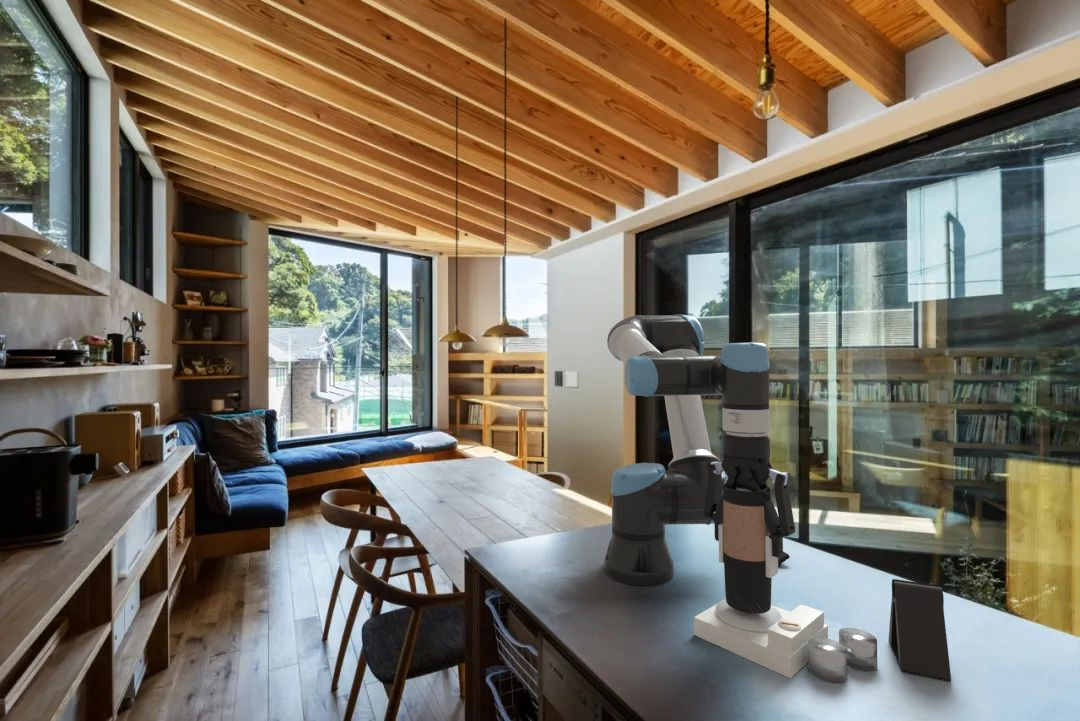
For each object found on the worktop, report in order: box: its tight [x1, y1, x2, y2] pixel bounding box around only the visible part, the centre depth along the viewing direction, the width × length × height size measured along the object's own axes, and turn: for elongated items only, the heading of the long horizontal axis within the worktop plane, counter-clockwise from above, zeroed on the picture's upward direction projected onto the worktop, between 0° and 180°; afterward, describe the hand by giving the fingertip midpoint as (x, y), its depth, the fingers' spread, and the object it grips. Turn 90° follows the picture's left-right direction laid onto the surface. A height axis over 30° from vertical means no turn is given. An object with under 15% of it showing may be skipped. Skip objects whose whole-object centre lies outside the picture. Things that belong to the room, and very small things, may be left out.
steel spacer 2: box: [838, 627, 878, 673], centre depth 78 cm, size 5×5×4 cm
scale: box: [693, 598, 829, 679], centre depth 85 cm, size 16×14×6 cm
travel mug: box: [723, 483, 773, 614], centre depth 87 cm, size 8×8×20 cm
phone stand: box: [888, 578, 952, 683], centre depth 78 cm, size 9×6×12 cm, turn 156°
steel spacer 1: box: [807, 637, 848, 684], centre depth 76 cm, size 5×5×4 cm
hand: (747, 567), depth 87 cm, fingers closed on travel mug, 8 cm apart
